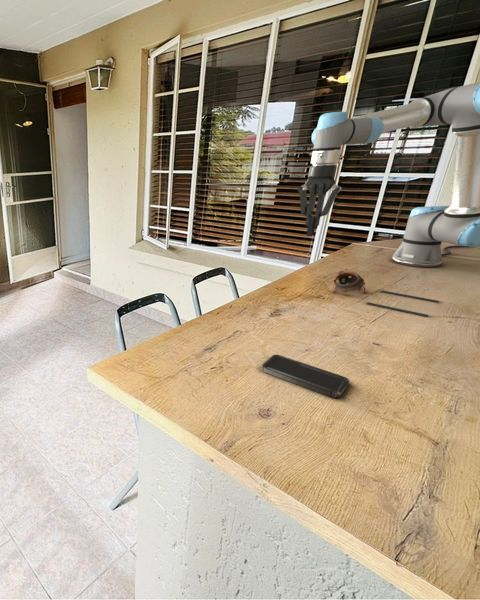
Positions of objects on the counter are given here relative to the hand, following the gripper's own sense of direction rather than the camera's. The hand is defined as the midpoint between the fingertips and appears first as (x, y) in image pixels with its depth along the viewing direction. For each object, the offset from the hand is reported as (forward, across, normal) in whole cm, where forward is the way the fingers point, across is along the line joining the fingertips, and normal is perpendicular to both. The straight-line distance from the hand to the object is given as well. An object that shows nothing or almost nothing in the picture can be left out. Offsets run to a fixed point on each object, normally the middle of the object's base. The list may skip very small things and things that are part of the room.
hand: (309, 235), depth 124 cm
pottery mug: (+18, +14, 0) cm, 23 cm away
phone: (+18, +25, -64) cm, 71 cm away
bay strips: (+18, +29, 0) cm, 34 cm away
